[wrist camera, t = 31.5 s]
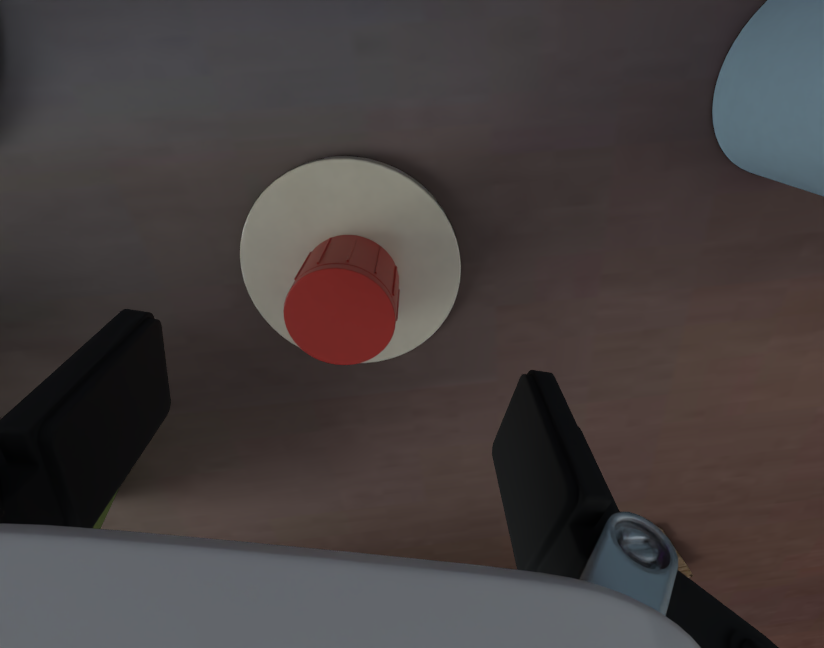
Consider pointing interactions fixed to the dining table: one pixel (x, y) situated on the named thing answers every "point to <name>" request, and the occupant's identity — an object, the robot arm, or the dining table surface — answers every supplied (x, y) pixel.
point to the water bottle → (775, 95)
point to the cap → (344, 301)
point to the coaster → (353, 215)
